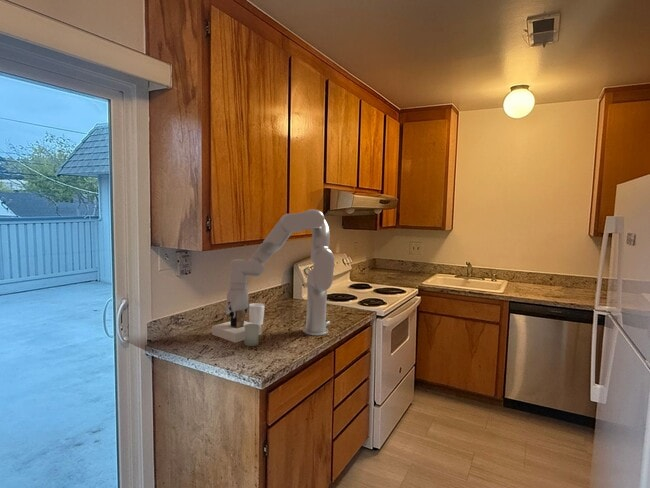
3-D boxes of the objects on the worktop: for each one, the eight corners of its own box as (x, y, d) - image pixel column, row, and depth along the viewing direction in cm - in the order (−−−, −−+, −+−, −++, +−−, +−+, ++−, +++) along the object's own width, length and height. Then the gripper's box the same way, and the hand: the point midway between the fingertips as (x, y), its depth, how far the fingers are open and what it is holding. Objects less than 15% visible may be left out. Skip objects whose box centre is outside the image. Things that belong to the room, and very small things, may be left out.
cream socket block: (238, 327, 192) (238, 319, 192) (261, 334, 183) (261, 326, 183) (212, 334, 180) (212, 326, 179) (235, 342, 170) (235, 333, 170)
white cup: (251, 326, 194) (252, 307, 193) (246, 322, 201) (246, 303, 200) (266, 325, 198) (267, 305, 197) (260, 321, 205) (261, 302, 204)
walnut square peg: (237, 328, 184) (238, 307, 183) (243, 330, 182) (243, 309, 181) (230, 330, 181) (231, 309, 180) (236, 332, 178) (237, 310, 178)
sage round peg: (251, 340, 174) (252, 323, 173) (261, 343, 171) (261, 325, 170) (241, 343, 169) (241, 325, 169) (250, 347, 166) (251, 328, 165)
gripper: (246, 282, 188) (245, 319, 190) (218, 287, 175) (217, 326, 176) (257, 284, 184) (256, 322, 185) (229, 289, 171) (228, 330, 172)
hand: (237, 324), depth 181 cm, fingers closed on walnut square peg, 4 cm apart
